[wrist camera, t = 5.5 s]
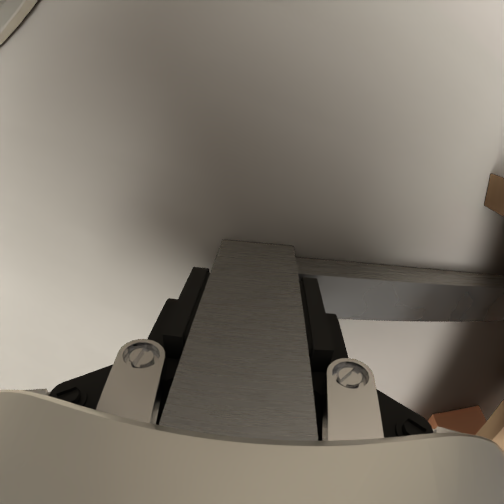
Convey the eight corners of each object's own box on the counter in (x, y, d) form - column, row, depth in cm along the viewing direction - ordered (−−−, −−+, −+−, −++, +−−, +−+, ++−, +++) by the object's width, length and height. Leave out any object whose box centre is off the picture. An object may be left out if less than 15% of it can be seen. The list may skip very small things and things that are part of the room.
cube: (432, 413, 18) (451, 464, 14) (478, 404, 18) (499, 449, 14) (406, 447, 20) (419, 494, 16) (451, 438, 20) (466, 480, 16)
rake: (222, 239, 13) (147, 461, 4) (571, 275, 13) (650, 356, 4) (219, 389, 17) (191, 547, 8) (519, 377, 17) (567, 464, 8)
